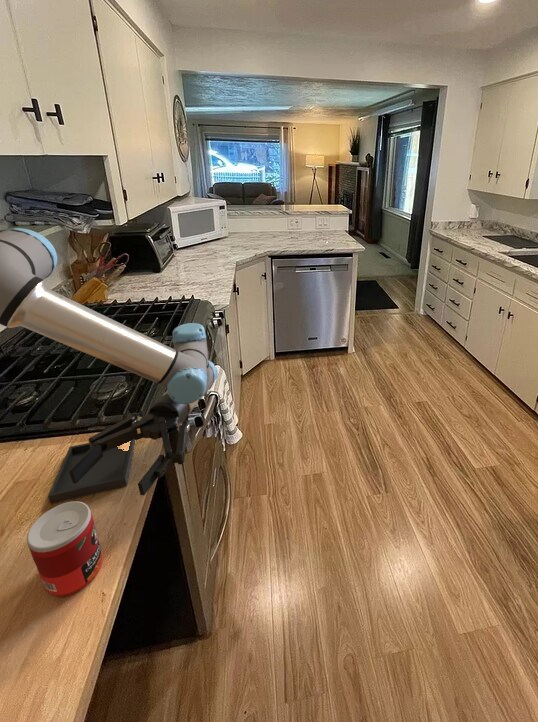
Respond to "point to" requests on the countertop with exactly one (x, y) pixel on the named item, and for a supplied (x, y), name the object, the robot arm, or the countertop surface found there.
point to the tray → (92, 473)
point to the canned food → (65, 548)
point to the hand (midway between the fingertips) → (105, 483)
